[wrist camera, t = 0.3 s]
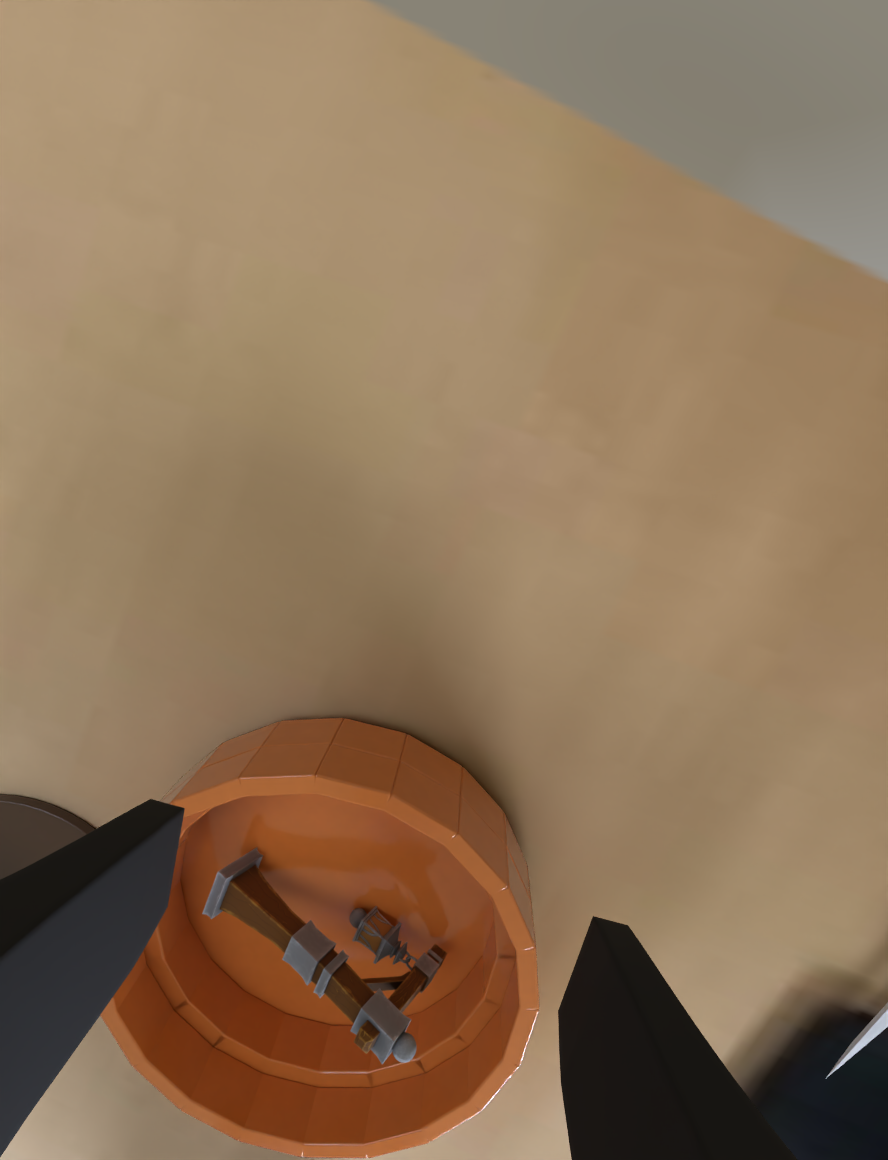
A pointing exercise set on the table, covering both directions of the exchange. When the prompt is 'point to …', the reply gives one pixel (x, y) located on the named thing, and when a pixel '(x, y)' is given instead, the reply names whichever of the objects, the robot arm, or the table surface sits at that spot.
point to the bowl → (327, 897)
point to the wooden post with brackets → (332, 957)
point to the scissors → (865, 1036)
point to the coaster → (33, 831)
